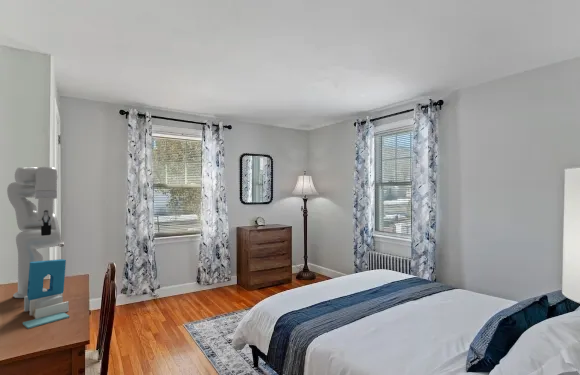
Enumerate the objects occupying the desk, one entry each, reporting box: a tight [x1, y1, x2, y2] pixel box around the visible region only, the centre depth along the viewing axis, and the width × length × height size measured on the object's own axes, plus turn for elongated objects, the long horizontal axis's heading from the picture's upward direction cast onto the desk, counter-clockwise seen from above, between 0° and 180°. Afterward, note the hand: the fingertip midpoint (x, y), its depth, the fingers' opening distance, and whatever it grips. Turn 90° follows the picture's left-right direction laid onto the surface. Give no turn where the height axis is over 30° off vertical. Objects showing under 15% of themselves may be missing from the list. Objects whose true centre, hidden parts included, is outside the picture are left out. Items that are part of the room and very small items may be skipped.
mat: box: [22, 312, 70, 329], centre depth 121 cm, size 7×13×1 cm, turn 143°
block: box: [27, 258, 67, 304], centre depth 134 cm, size 12×5×20 cm, turn 141°
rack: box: [23, 293, 70, 319], centre depth 131 cm, size 16×11×6 cm
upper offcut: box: [35, 295, 64, 309], centre depth 129 cm, size 4×8×3 cm, turn 154°
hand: (46, 234), depth 135 cm, fingers open, 9 cm apart
